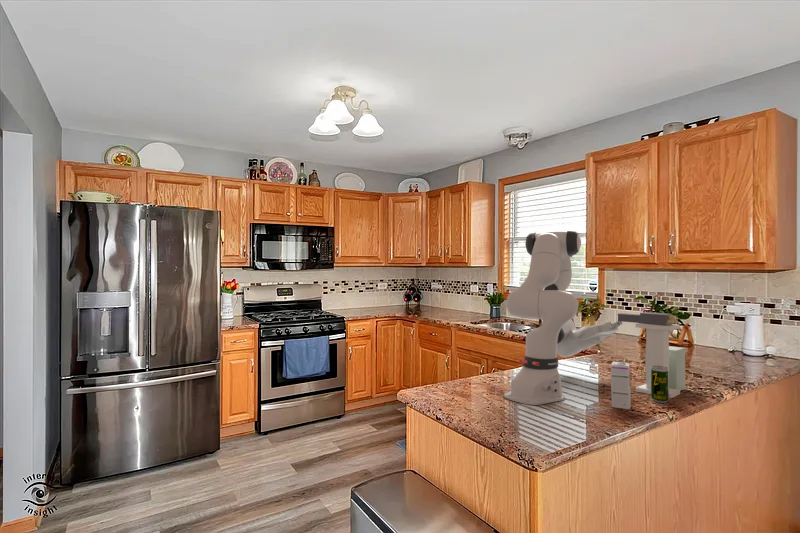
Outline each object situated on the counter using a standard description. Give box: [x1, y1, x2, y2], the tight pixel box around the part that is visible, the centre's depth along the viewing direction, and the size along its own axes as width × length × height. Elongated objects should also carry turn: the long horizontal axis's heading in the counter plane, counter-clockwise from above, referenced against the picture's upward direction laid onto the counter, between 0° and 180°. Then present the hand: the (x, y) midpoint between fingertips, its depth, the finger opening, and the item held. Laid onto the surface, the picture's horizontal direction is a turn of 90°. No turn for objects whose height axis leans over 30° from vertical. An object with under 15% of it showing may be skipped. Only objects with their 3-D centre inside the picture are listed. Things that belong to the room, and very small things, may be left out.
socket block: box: [645, 345, 686, 392], centre depth 172 cm, size 9×11×16 cm
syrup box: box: [610, 361, 632, 410], centre depth 148 cm, size 6×6×14 cm
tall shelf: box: [635, 323, 681, 399], centre depth 165 cm, size 9×12×26 cm
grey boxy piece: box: [617, 311, 678, 326], centre depth 168 cm, size 20×6×4 cm, turn 39°
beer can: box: [650, 366, 670, 404], centre depth 154 cm, size 5×5×12 cm
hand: (616, 322), depth 177 cm, fingers open, 8 cm apart
